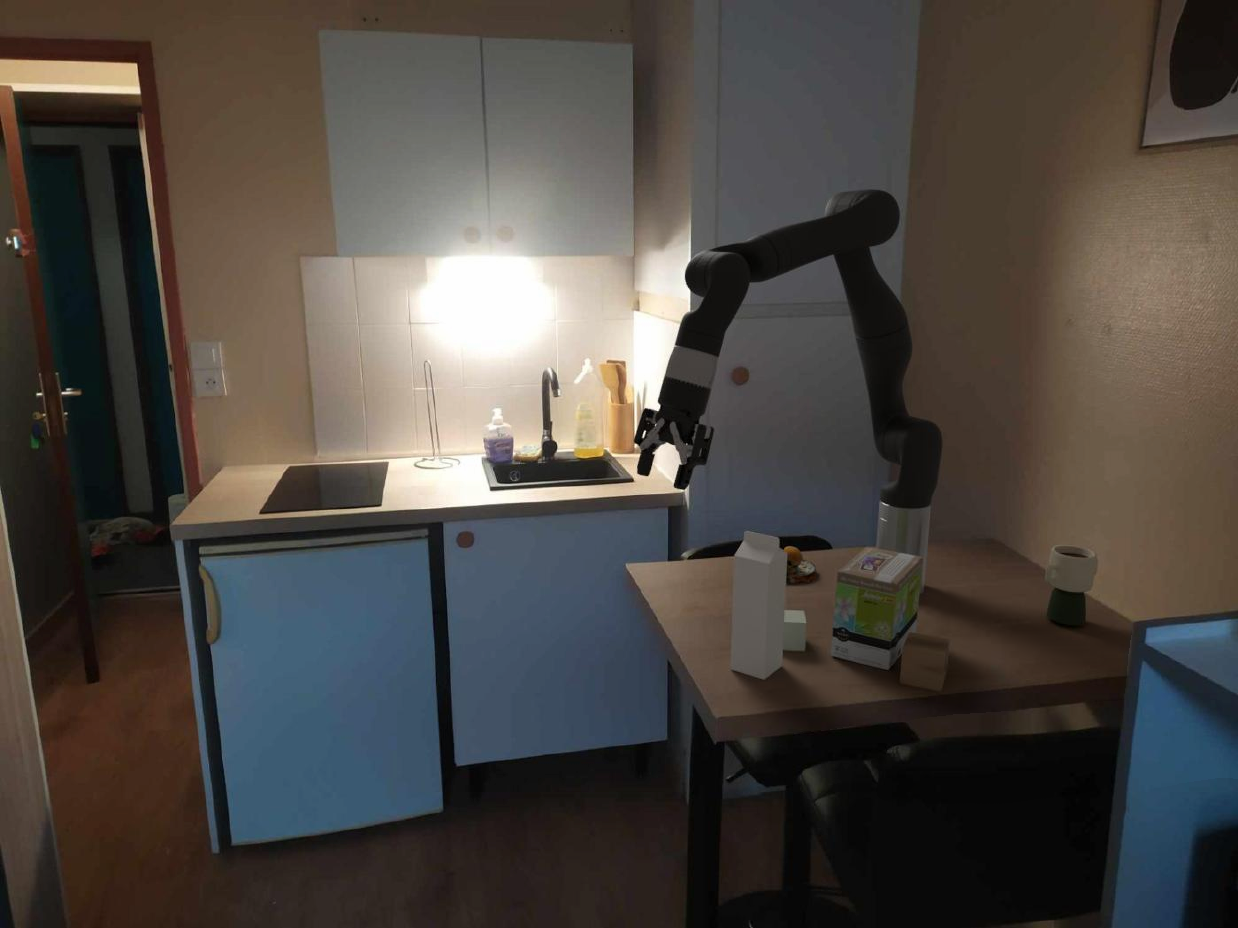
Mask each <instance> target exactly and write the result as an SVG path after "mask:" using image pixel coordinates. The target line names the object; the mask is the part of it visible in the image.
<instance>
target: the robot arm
mask: <svg viewBox="0 0 1238 928" xmlns="http://www.w3.org/2000/svg"><path fill="white" fill-rule="evenodd" d="M900 213H901V212H900V206H899V203H898V201H897V200H896V199H895V197H894V196H893V195H892V194H891V193H889V192H887V191H886V190H881V189H873V188H872V189H871V188H870V189H868V188H867V189H860V190H859V189H858V190H848V191H842V192H838V193H836V194H834V195H833V196H832V197H831V198H830V199H829V200H828V202H827V204H826V207H825V210H824V216H823V217H819V218H816V219H815V218H814V219H812V220H811V219H810V220H805V221H800V222H797V223H793V224H788V225H784V226H780V227H778V228H774V229H770V230H768V231H766V232H763V233H760V234H758V235H755V236H753V237H751V238H748V239H746V240H743V241H739V242H736V243H735V242H732V243H729V244H726V245H725V244H724V245H719V246H716V247H712V248H711V247H710V248H708V249H705V250H703V251H699V253H697V254H695V255H694V256H693V257H691V259H690V260H689V262H688V263H687V266H686V268H685V269H684V270H685V271H684V281H685V285H686V287H687V289H689V291H690V292H691V293H693V294H694V295H696V296H697V297H699V298H700V297H701V298H703V299H702V300H701V302H700V304H699V305H698V307H697V308H695V309H693V310H690V311H687V312H686V313H684V315H683V316H682V318H681V321H680V324H679V327H678V331H677V336H676V338H675V342H674V346H673V350H672V351H671V353H670V356H669V359H668V362H667V365H666V369H665V373H664V376H663V380H662V384H661V388H660V390H659V393H658V398H657V403H658V404H659V406H660V407H659V409H658V410H655V409H653V408H648V407H645V408H643V410H642V413H641V415H640V416H641V417H640V419H639V422H638V425H637V428H636V432H635V435H634V436H633V437H634V438H633V443H634V445H635V444H636V445H638V447H639V449H640V450H641V451H640V454H639V458H638V462H637V466H636V474H637V475H639V476H642V477H649V476H650V475H651V470H652V467H653V463H654V460H655V456H656V454H655V452H657V450H658V449H659V448H660V447H661V446H664V445H666V444H669V445H672V446H674V447H675V450H676V452H678V456H679V460H680V463H679V464H678V467H677V472H676V473H675V474H676V475H675V478H674V481H673V488H674V489H677V490H681V491H686V489H688V487H689V485H690V482H691V478H692V475H693V473H694V472H693V471H694V469H695V468H696V467H697V466H698V467H699V466H706V465H707V463H708V459H709V455H710V449H711V444H712V442H713V437H714V432H715V428H714V427H713V426H711V425H707V424H702V423H700V419H701V417H702V416H704V415H705V414H706V411H707V407H708V403H709V399H710V397H711V393H712V388H713V386H714V382H715V377H716V374H717V371H718V362H719V357H720V354H721V350H722V346H723V344H724V340H725V334H726V332H727V330H728V328H729V327H730V325H731V324H732V322H733V320H734V319H735V317H736V314H737V313H738V311H739V310H740V307H741V306H742V303H743V302H744V300H745V298H746V296H747V293H748V291H749V287H750V283H752V284H753V283H762V282H766V281H770V280H772V279H774V278H776V277H779V276H781V275H784V274H786V273H789V272H791V271H794V270H795V269H796V270H797V269H798V268H801V267H803V266H806V265H808V264H811V263H814V262H816V261H819V260H822V259H824V258H827V257H831V256H833V258H834V261H835V264H836V267H837V271H838V272H839V276H840V279H841V282H842V285H843V289H844V293H845V296H846V297H845V298H846V301H847V305H848V309H849V313H850V316H851V322H852V327H853V333H854V338H855V342H856V346H857V350H858V351H857V352H858V353H859V357H860V362H861V365H862V366H861V367H862V370H863V374H864V376H863V377H864V379H865V380H864V381H865V386H866V389H867V395H868V402H869V408H870V410H869V411H870V416H871V417H870V418H871V427H872V436H873V441H874V445H875V449H876V451H877V453H878V455H879V456H880V457H881V458H882V459H884V460H885V461H886V462H889V463H891V464H895V465H898V466H899V472H898V473H899V474H898V479H897V480H894V481H888V482H886V483H884V484H882V485H881V487H880V491H879V506H878V518H877V519H878V520H877V533H876V545H875V548H877V549H882V550H887V551H893V552H898V553H904V554H909V555H914V556H919V557H922V558H923V564H922V575H921V584H920V594H919V595H921V594H923V593H924V590H925V581H926V580H925V579H926V570H927V569H926V567H927V556H928V545H929V544H928V543H929V532H930V520H931V509H932V508H931V506H932V500H933V499H932V498H933V495H934V493H935V491H936V489H937V486H938V482H939V481H938V480H939V475H940V474H939V473H940V467H941V462H942V461H941V459H942V454H943V437H942V431H941V429H940V427H939V426H938V425H937V423H935V422H933V421H930V420H928V419H924V418H919V417H916V416H913V415H912V416H911V415H910V414H909V412H908V409H907V407H906V406H907V405H906V403H905V397H904V391H903V383H904V379H905V375H906V374H907V370H908V368H909V365H910V362H911V358H912V356H913V355H912V354H913V339H912V334H911V330H910V324H909V319H908V316H907V313H906V310H905V308H904V306H903V304H902V303H901V301H900V299H899V298H898V297H897V295H896V294H895V293H894V292H893V290H892V289H891V288H890V286H889V285H888V284H887V282H886V281H885V279H884V278H883V277H882V275H881V274H880V273H879V271H878V268H877V266H876V264H875V262H874V259H873V255H872V252H871V251H872V250H871V248H872V247H877V246H880V245H882V244H885V243H886V242H889V240H890V239H891V238H893V237H894V235H895V234H896V232H897V230H898V228H899V225H900V219H901V214H900Z"/></svg>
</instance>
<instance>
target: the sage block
mask: <svg viewBox="0 0 1238 928" xmlns="http://www.w3.org/2000/svg"><path fill="white" fill-rule="evenodd" d="M807 624H808V623H807V618H806V614H805V611H804V610H795V609H793V610H792V609H791V610H790V609H785V613H784V634H783V651H793V652H806V643H807V642H806V640H807V638H806V637H807Z"/></svg>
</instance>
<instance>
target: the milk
mask: <svg viewBox="0 0 1238 928" xmlns="http://www.w3.org/2000/svg"><path fill="white" fill-rule="evenodd" d="M786 572H787V552H785V551H784V549H782V548H781V547H780V538H779V537H777V536H772V535H768V534H764V533H758V532H753V531H749V530H745V531H744V533H743V541H742V543H741V544H740V546H739V548H737V551H736V552H735V553H734V555H733V581H732V582H733V583H732V584H733V585H732V587H733V589H732V614H731V615H732V618H731V622H732V623H731V643H730V644H731V645H730V646H731V647H730V670H731V671H734V672H738V673H741V674H743V675H747V676H751V677H754V678H757V679H759V680H760V679H761V680H763V681H765V680H766V679H767V678H768V677H770V676H771V675H773V674H774V673H775V672H776V671H778V669H780V668H782V666H783V651H784V650H783V634H784V613H785V610H786V591H787V590H786V589H787V588H786V587H787V584H786Z"/></svg>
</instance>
